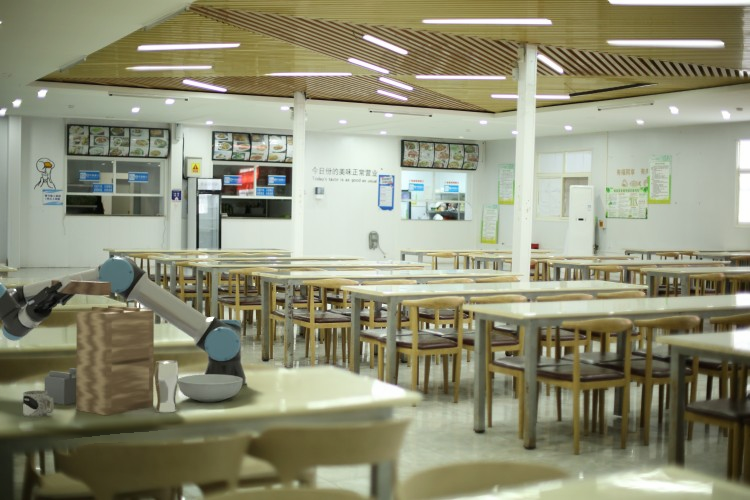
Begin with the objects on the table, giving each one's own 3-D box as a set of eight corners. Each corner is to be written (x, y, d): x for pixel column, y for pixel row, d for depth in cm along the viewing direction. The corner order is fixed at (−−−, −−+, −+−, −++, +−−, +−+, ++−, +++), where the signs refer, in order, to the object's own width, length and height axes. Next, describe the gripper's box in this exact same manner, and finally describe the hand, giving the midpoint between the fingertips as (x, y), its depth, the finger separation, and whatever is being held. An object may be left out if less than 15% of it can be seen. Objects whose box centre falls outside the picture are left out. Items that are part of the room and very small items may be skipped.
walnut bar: (51, 292, 287) (51, 280, 287) (62, 292, 290) (62, 279, 290) (100, 295, 274) (100, 282, 274) (110, 295, 277) (110, 282, 277)
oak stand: (76, 409, 271) (76, 308, 271) (123, 401, 286) (123, 304, 285) (106, 415, 263) (106, 310, 263) (153, 406, 278) (153, 306, 278)
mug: (18, 416, 262) (18, 393, 262) (34, 411, 268) (34, 389, 268) (45, 418, 258) (45, 395, 258) (61, 414, 264) (61, 392, 264)
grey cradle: (44, 401, 285) (44, 371, 285) (76, 395, 295) (76, 367, 295) (64, 404, 279) (64, 374, 279) (95, 399, 289) (95, 370, 289)
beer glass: (156, 414, 266) (156, 363, 265) (152, 409, 272) (152, 360, 272) (180, 412, 268) (180, 362, 268) (175, 408, 275) (175, 359, 275)
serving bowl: (243, 404, 282) (243, 383, 282) (175, 406, 279) (175, 384, 278) (242, 393, 303) (242, 373, 302) (179, 394, 299) (179, 374, 299)
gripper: (61, 320, 301) (100, 288, 290) (15, 324, 287) (55, 290, 275) (54, 300, 303) (93, 267, 292) (9, 303, 289) (48, 268, 277)
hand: (74, 278), depth 284 cm, fingers closed on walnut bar, 4 cm apart
